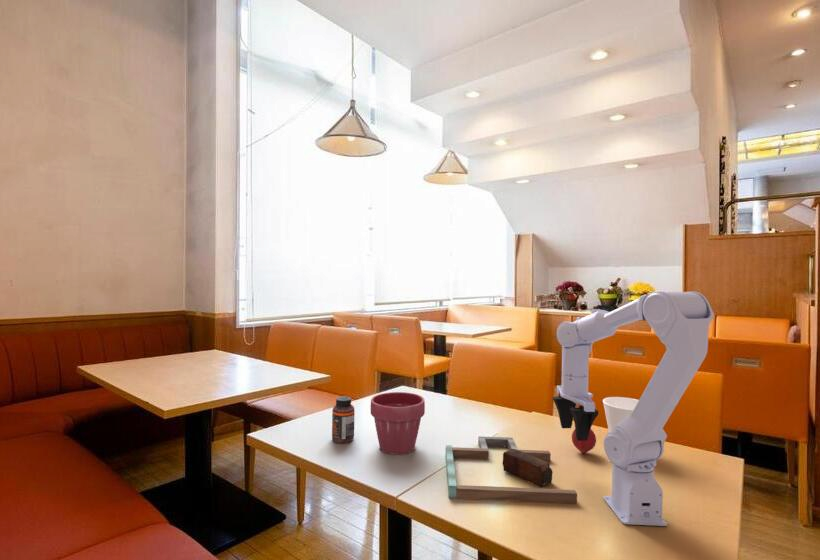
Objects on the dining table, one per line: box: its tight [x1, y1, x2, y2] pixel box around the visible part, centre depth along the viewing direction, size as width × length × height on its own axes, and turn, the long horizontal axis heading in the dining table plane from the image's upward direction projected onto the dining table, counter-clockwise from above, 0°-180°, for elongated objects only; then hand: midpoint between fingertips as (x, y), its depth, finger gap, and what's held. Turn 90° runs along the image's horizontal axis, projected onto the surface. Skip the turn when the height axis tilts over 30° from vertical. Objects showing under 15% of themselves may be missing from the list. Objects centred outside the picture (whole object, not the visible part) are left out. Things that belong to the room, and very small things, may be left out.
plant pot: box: [370, 391, 426, 455], centre depth 113 cm, size 14×14×13 cm
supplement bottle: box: [331, 395, 355, 444], centre depth 118 cm, size 6×6×11 cm
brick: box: [502, 449, 553, 488], centre depth 98 cm, size 11×4×5 cm, turn 42°
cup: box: [602, 396, 639, 433], centre depth 114 cm, size 12×12×12 cm
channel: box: [445, 435, 578, 504], centre depth 102 cm, size 29×26×2 cm
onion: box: [571, 428, 597, 454], centre depth 112 cm, size 6×6×8 cm
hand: (573, 433), depth 99 cm, fingers open, 7 cm apart
